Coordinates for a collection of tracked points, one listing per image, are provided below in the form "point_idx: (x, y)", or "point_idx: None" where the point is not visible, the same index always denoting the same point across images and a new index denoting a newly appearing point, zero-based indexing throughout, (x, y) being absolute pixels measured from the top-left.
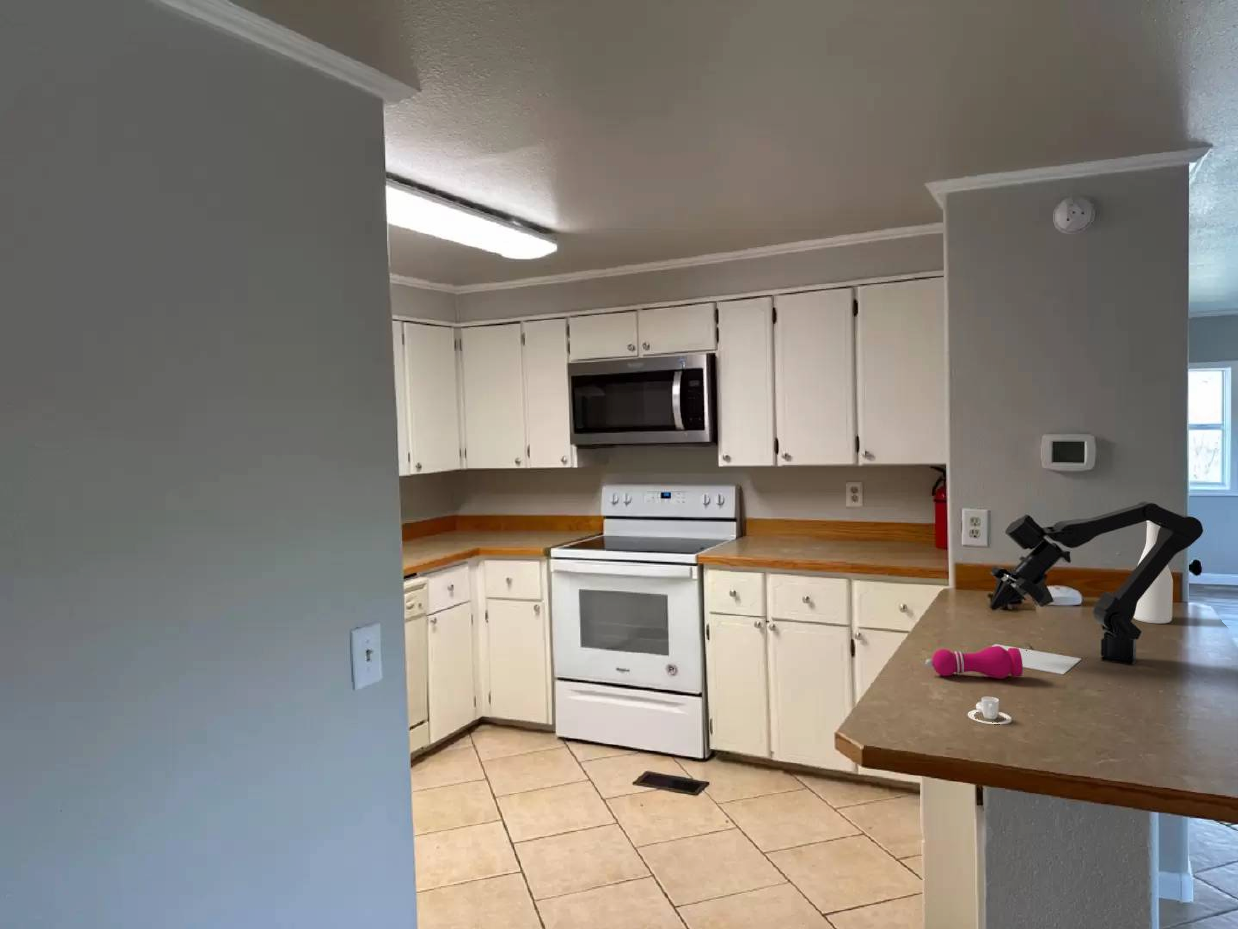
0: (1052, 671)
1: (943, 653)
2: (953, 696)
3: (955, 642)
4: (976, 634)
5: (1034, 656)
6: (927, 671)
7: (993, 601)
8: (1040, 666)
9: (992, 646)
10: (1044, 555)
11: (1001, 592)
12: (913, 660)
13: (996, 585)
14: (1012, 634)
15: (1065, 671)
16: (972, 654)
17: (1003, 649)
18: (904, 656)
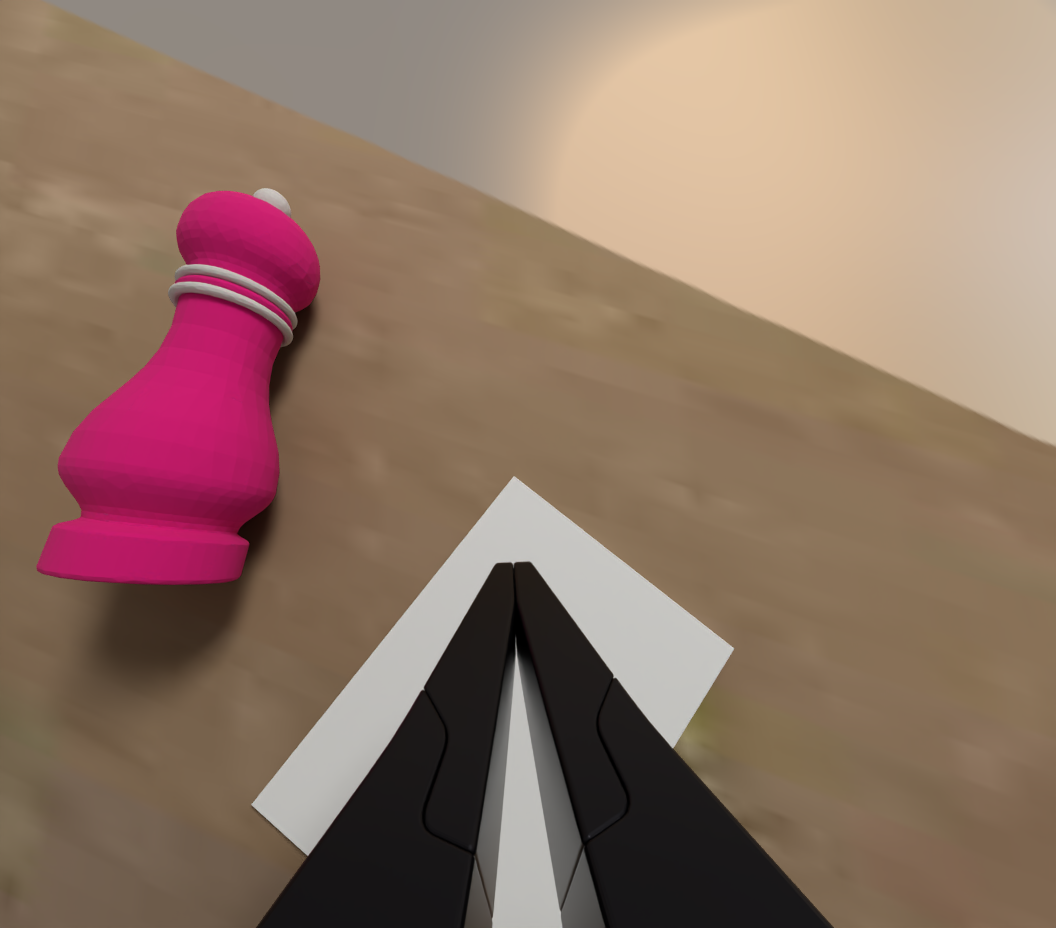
0: (290, 764)
1: (189, 206)
2: (50, 253)
3: (755, 478)
4: (905, 619)
5: (533, 771)
6: (346, 253)
7: (499, 607)
8: (370, 735)
9: (143, 436)
10: None
11: (371, 785)
12: (486, 244)
13: (734, 849)
14: (938, 810)
15: (284, 833)
16: (174, 340)
17: (77, 481)
18: (537, 228)
